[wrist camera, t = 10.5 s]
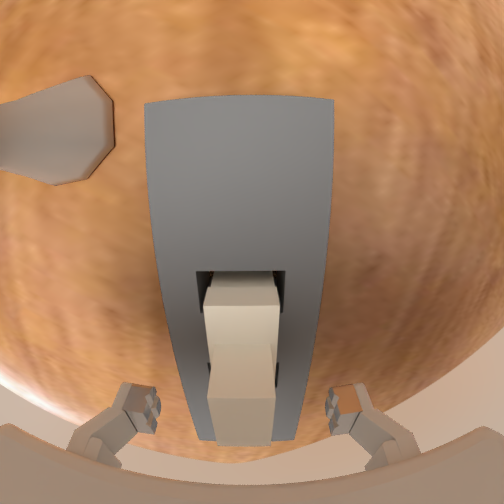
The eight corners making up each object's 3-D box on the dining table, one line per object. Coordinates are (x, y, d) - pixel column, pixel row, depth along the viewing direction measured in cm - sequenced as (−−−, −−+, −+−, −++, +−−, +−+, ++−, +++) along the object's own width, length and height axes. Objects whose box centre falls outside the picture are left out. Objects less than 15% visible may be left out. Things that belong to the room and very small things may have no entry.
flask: (133, 152, 14) (9, 178, 5) (54, 202, 15) (-52, 259, 6) (99, 57, 12) (-12, 17, 3) (26, 117, 13) (-80, 130, 3)
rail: (312, 109, 14) (334, 99, 10) (289, 405, 23) (293, 439, 19) (169, 112, 14) (144, 103, 10) (203, 405, 23) (199, 440, 19)
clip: (269, 245, 17) (289, 358, 8) (266, 346, 20) (274, 461, 11) (218, 245, 17) (190, 358, 8) (225, 346, 20) (215, 460, 11)
